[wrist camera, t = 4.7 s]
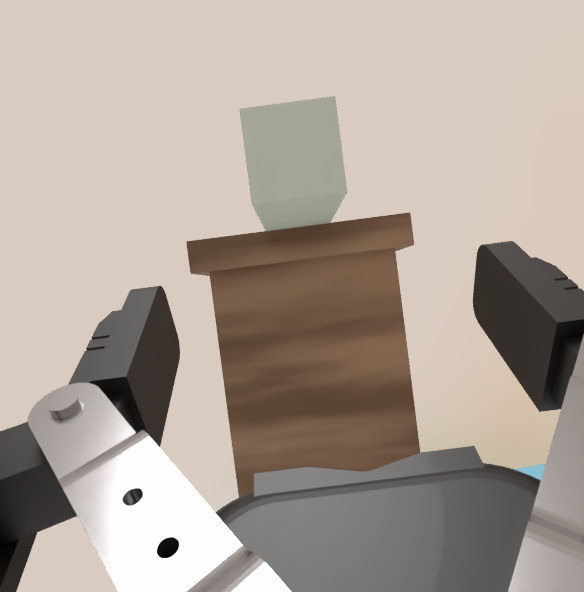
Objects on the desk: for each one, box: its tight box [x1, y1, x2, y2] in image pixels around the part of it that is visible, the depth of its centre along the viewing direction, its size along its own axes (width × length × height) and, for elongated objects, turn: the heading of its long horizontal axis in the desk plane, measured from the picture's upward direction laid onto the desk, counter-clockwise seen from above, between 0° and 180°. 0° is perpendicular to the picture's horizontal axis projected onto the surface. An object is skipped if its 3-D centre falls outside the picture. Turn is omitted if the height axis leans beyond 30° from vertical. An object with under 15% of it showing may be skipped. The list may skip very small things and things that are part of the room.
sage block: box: [240, 96, 347, 231], centre depth 33 cm, size 26×4×4 cm, turn 0°
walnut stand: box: [187, 213, 420, 498], centre depth 37 cm, size 12×14×32 cm
